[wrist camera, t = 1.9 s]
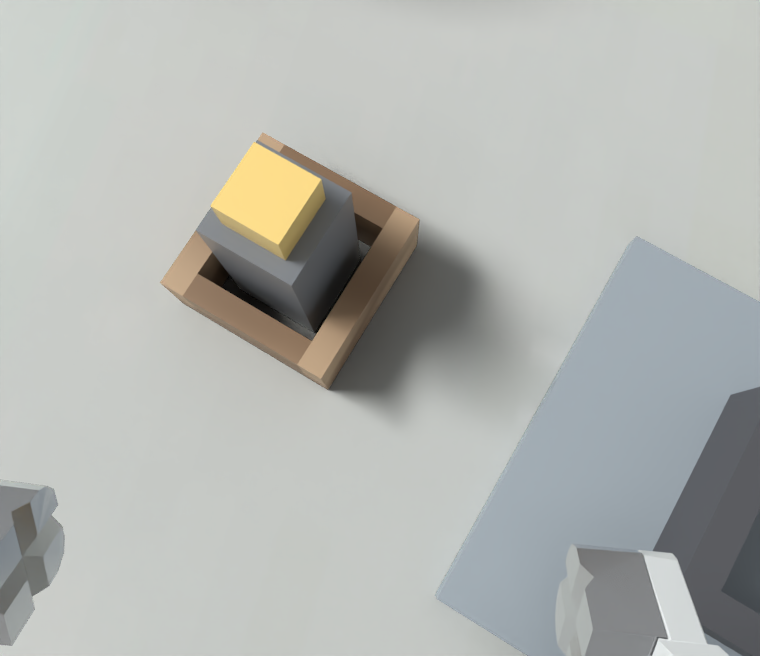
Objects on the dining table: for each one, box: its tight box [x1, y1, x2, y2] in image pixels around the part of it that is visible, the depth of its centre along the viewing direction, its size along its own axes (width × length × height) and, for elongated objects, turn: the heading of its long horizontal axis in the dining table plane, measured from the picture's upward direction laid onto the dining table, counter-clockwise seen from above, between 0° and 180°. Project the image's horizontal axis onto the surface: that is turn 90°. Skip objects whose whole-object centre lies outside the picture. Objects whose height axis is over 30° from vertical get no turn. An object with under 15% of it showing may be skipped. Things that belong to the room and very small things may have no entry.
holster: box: [160, 133, 419, 390], centre depth 28 cm, size 7×7×3 cm
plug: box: [196, 140, 360, 333], centre depth 26 cm, size 4×4×8 cm
